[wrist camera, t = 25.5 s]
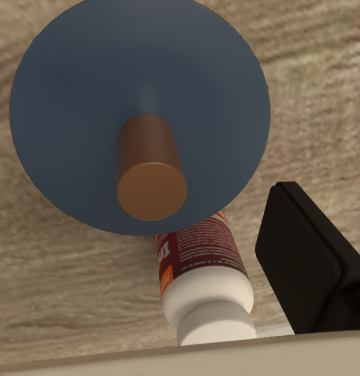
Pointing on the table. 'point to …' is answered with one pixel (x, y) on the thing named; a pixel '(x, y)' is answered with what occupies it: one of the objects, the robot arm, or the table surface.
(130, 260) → the table surface
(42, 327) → the table surface
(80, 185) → the lid
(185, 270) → the pill bottle
